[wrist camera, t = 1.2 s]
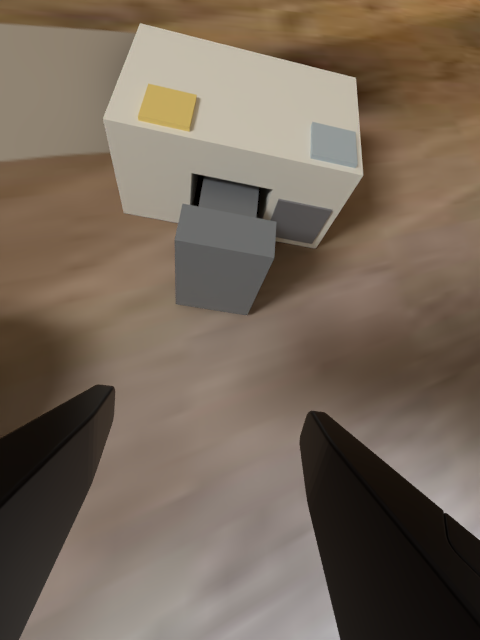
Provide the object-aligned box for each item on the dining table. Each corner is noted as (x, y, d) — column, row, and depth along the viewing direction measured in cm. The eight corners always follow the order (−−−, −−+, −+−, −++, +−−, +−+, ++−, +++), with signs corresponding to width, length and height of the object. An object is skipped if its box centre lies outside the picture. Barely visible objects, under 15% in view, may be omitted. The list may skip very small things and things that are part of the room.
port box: (315, 250, 28) (365, 173, 21) (123, 214, 26) (101, 115, 19) (315, 164, 32) (357, 73, 25) (149, 127, 30) (139, 18, 23)
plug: (247, 315, 24) (274, 257, 17) (175, 304, 24) (174, 239, 17) (256, 214, 28) (281, 134, 21) (195, 202, 27) (200, 116, 21)
